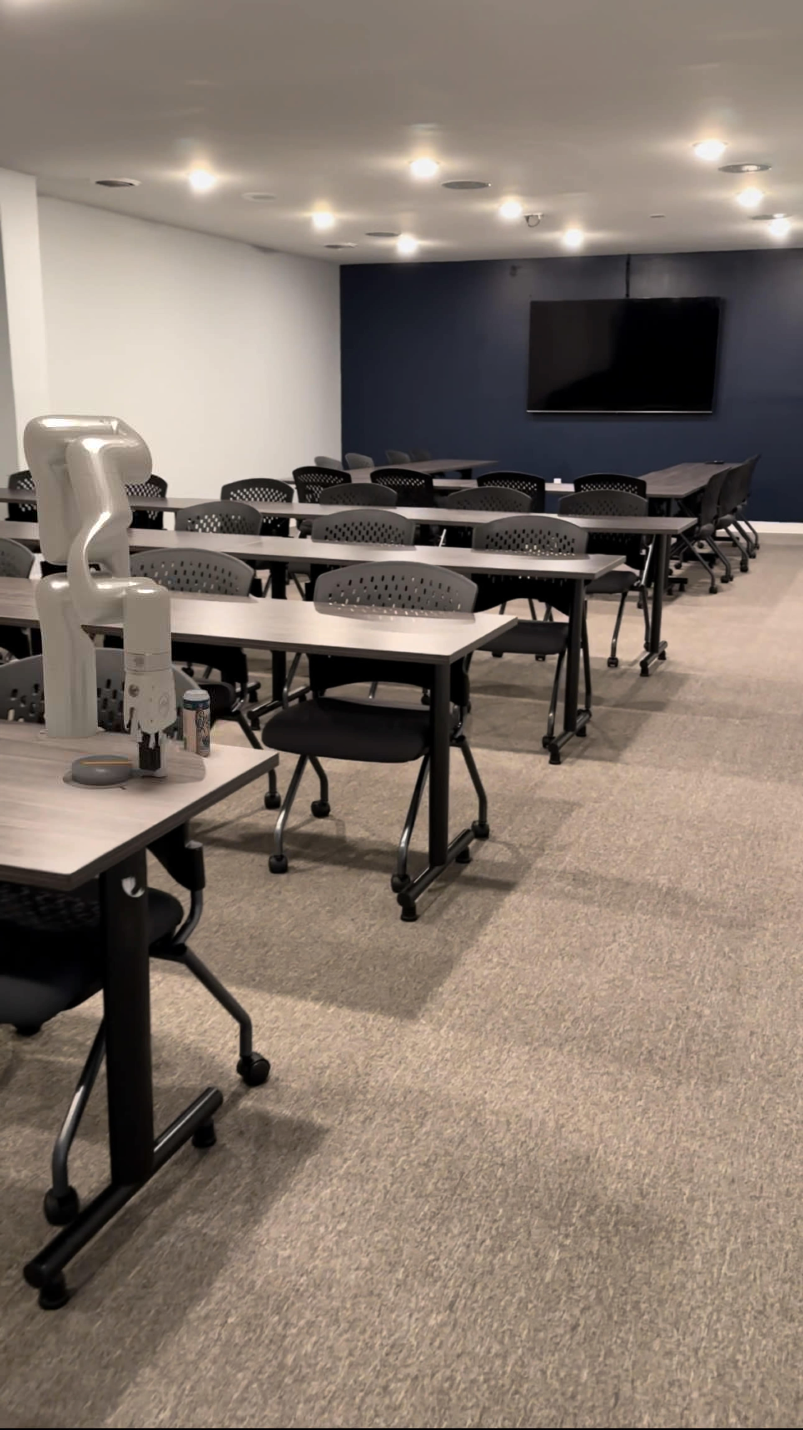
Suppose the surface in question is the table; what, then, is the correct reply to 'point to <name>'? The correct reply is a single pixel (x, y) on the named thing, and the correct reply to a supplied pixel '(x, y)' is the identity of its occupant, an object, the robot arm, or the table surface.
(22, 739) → the table surface
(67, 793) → the table surface
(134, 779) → the board
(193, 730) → the beer can
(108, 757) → the dial
